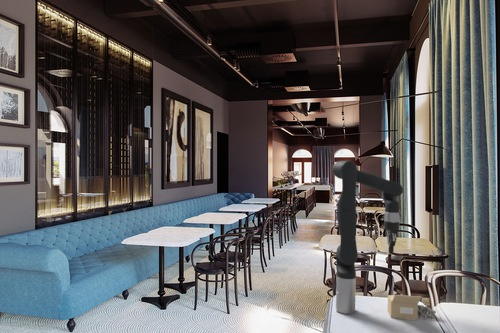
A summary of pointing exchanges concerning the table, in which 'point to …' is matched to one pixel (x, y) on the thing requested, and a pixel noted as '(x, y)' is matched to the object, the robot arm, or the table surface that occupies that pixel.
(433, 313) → the grey textured block
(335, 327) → the table surface
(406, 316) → the carton
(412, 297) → the flap
